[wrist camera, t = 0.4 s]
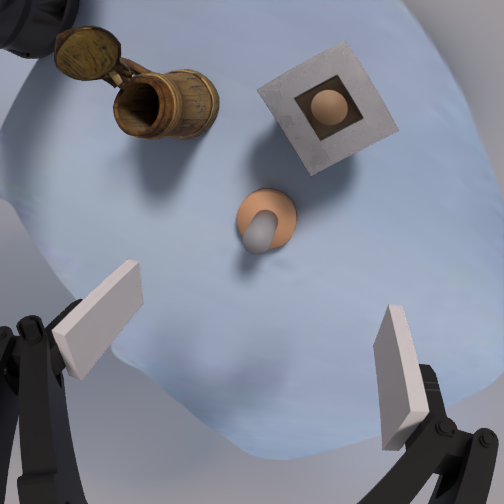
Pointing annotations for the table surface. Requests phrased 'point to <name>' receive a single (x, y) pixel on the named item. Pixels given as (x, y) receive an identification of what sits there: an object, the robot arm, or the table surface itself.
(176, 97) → the wooden mug
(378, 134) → the square metal nut
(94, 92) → the table surface
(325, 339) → the table surface
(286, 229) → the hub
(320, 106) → the stand
